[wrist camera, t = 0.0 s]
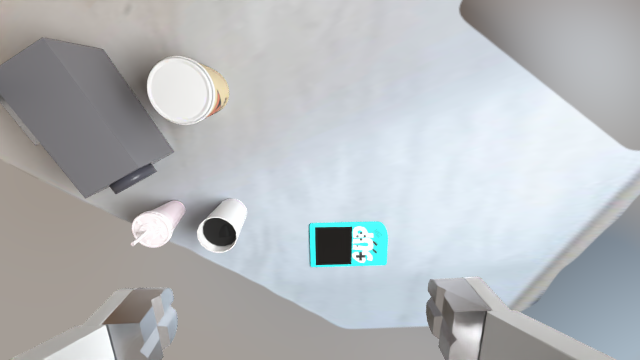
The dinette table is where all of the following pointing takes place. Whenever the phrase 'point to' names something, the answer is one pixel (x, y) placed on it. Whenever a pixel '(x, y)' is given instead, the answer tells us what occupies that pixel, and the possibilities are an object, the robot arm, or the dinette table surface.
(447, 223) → the dinette table surface
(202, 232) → the white cylindrical cup
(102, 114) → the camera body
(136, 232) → the smoothie
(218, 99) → the coffee cup
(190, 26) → the dinette table surface
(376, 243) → the handheld game console
